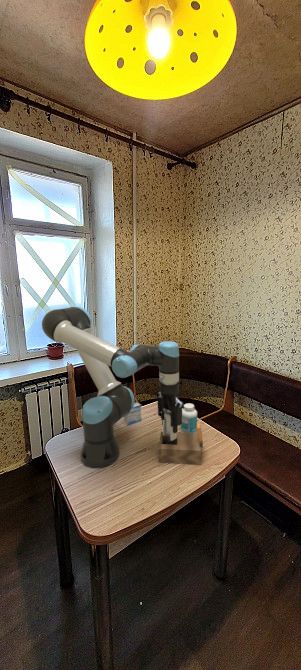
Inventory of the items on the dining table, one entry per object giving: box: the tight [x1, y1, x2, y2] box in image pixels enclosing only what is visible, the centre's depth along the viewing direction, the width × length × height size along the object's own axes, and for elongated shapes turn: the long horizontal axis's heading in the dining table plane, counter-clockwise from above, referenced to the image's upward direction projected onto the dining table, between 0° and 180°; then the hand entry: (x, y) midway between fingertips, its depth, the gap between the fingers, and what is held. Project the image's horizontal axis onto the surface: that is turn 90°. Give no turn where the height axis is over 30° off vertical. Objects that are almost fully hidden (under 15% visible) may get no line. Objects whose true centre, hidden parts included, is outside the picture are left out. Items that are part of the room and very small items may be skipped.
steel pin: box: [163, 407, 175, 445], centre depth 108 cm, size 5×5×16 cm
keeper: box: [197, 421, 204, 442], centre depth 107 cm, size 6×4×1 cm
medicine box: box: [123, 402, 142, 426], centre depth 135 cm, size 8×4×9 cm, turn 123°
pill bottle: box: [180, 402, 198, 433], centre depth 124 cm, size 8×7×14 cm
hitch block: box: [158, 430, 204, 466], centre depth 109 cm, size 17×12×8 cm
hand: (169, 436), depth 109 cm, fingers closed on steel pin, 4 cm apart
